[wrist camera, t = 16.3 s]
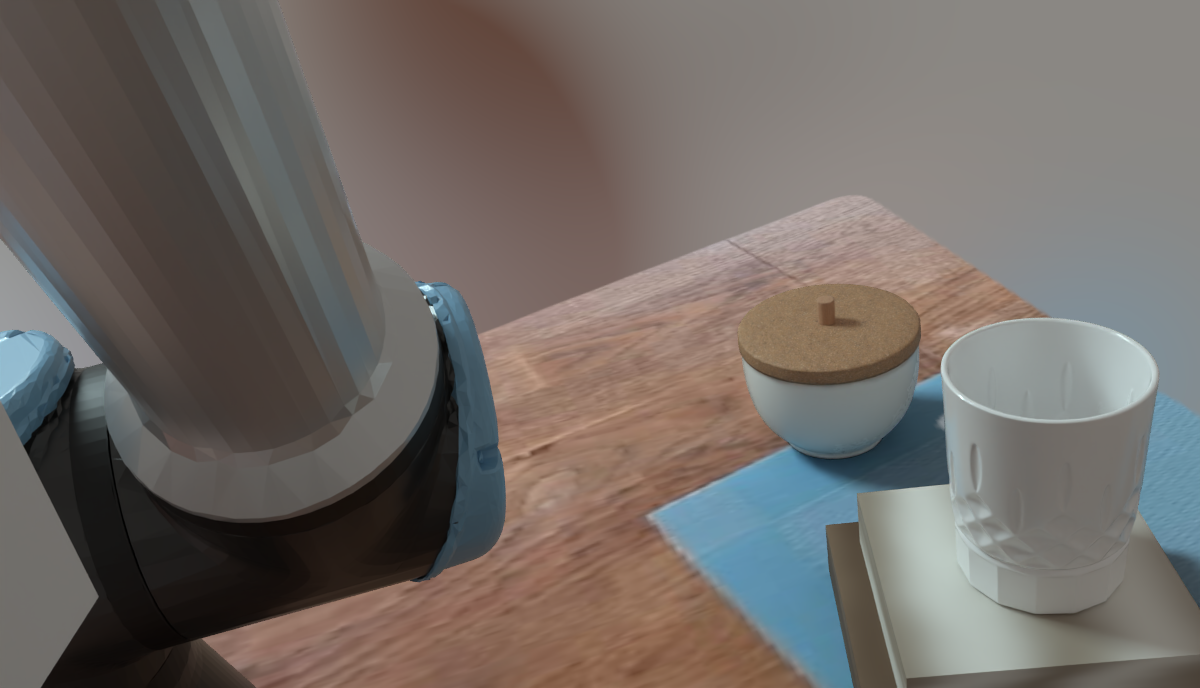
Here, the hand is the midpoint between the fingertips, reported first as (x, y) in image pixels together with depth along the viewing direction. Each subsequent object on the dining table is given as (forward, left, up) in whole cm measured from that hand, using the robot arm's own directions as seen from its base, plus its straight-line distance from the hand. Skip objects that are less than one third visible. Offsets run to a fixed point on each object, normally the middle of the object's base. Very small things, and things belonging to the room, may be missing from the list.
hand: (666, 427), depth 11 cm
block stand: (-19, +25, -34) cm, 46 cm away
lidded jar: (-39, +30, -34) cm, 60 cm away
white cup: (-18, +26, -28) cm, 42 cm away
